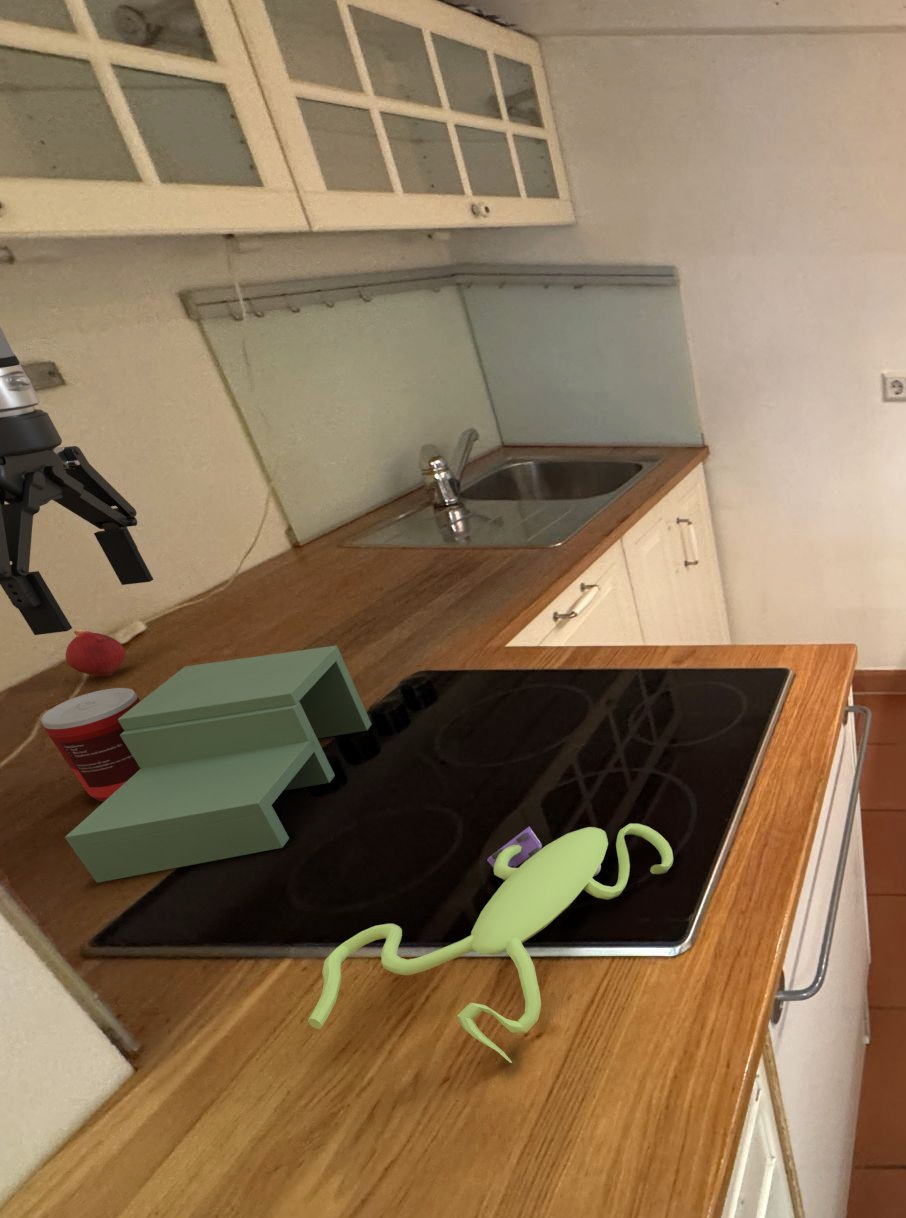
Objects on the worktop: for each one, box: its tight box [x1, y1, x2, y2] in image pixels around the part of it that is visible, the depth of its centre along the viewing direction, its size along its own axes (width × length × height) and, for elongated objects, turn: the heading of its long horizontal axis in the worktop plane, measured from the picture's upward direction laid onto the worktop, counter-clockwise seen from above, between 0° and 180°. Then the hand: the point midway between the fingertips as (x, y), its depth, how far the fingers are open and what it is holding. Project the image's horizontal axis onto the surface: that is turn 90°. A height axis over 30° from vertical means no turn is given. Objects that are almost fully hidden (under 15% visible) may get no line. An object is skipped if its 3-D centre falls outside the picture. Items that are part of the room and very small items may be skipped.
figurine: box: [307, 823, 674, 1064], centre depth 68 cm, size 18×27×6 cm
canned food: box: [40, 687, 141, 803], centre depth 89 cm, size 8×8×11 cm
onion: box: [65, 628, 126, 678], centre depth 114 cm, size 6×6×8 cm
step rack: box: [64, 645, 372, 884], centre depth 87 cm, size 16×24×12 cm, turn 16°
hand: (98, 605), depth 86 cm, fingers open, 13 cm apart
